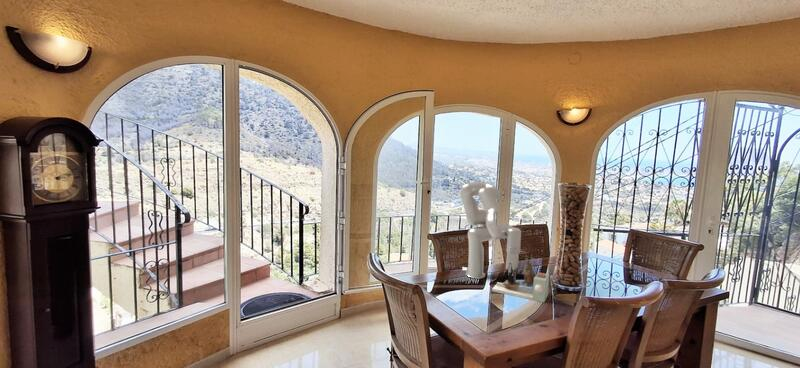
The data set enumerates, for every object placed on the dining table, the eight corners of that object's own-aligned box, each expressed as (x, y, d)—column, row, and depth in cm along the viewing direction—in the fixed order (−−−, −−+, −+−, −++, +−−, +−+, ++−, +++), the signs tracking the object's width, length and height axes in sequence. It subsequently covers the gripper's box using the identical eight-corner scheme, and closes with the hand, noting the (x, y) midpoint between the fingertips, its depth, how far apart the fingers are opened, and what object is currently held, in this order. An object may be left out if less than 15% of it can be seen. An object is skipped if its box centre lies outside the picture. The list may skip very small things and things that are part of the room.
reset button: (538, 279, 209) (538, 273, 209) (539, 277, 212) (539, 272, 211) (543, 280, 208) (543, 274, 208) (544, 278, 210) (544, 273, 210)
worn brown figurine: (527, 290, 227) (524, 263, 223) (520, 287, 232) (517, 260, 228) (540, 283, 233) (538, 256, 229) (533, 280, 238) (530, 253, 233)
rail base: (492, 291, 219) (492, 285, 218) (498, 284, 229) (498, 279, 229) (532, 299, 207) (532, 293, 207) (536, 292, 218) (537, 286, 217)
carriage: (503, 288, 218) (503, 271, 217) (505, 284, 223) (506, 268, 222) (517, 291, 214) (518, 273, 213) (519, 287, 219) (520, 270, 218)
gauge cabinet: (532, 299, 207) (533, 278, 206) (536, 292, 218) (538, 272, 216) (544, 302, 204) (545, 280, 203) (548, 294, 215) (549, 274, 213)
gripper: (510, 245, 225) (509, 275, 227) (502, 252, 211) (501, 283, 213) (523, 247, 222) (522, 277, 224) (516, 254, 207) (514, 286, 209)
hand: (511, 280), depth 218 cm, fingers closed on carriage, 4 cm apart
